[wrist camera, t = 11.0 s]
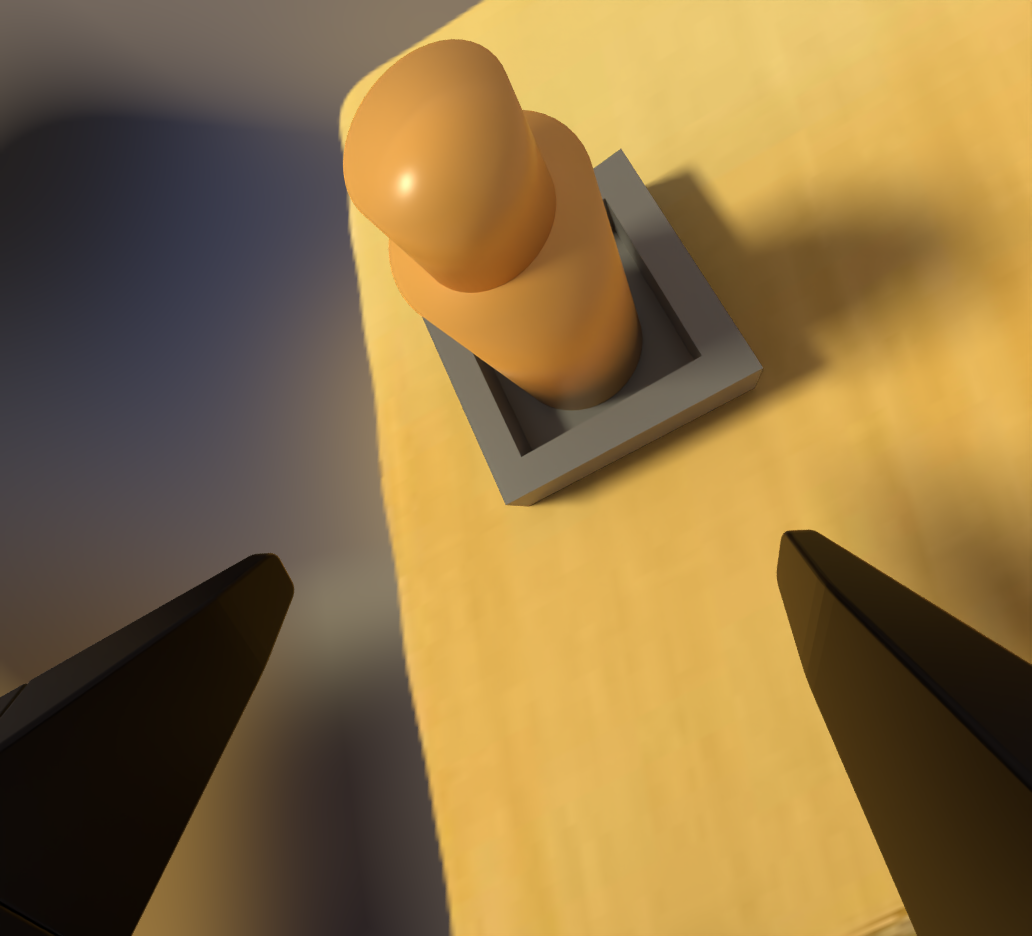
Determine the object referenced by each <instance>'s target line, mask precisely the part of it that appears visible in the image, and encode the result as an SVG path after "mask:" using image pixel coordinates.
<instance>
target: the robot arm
mask: <svg viewBox="0 0 1032 936" xmlns="http://www.w3.org/2000/svg"><path fill="white" fill-rule="evenodd" d="M777 582H778V586H779V590H780V593H781V596H782V600H783V603H784V606H785V610H786V613H787V616H788V620H789V623H790V626H791V630H792V633H793V636H794V640H795V643H796V646H797V650H798V653H799V656H800V660H801V663H802V666H803V669H804V672H805V675H806V678H807V681H808V683H809V686H810V688H811V691H812V693H813V696H814V698H815V700H816V703H817V705H818V707H819V709H820V712H821V714H822V716H823V719H824V721H825V723H826V726H827V728H828V730H829V733H830V735H831V737H832V740H833V742H834V744H835V747H836V749H837V751H838V754H839V756H840V758H841V760H842V763H843V765H844V767H845V770H846V772H847V774H848V777H849V779H850V781H851V784H852V786H853V788H854V791H855V793H856V795H857V798H858V800H859V802H860V804H861V807H862V809H863V811H864V814H865V816H866V818H867V821H868V823H869V825H870V828H871V830H872V832H873V835H874V837H875V839H876V842H877V844H878V846H879V849H880V851H881V853H882V855H883V858H884V860H885V862H886V865H887V867H888V869H889V872H890V874H891V876H892V879H893V881H894V883H895V886H896V888H897V890H898V893H899V895H900V897H901V899H902V902H903V904H904V906H905V909H906V911H907V913H908V916H909V918H910V920H911V923H912V925H913V927H914V930H915V932H916V934H917V936H1032V664H1030V663H1028V662H1027V661H1025V660H1024V659H1022V658H1020V657H1019V656H1017V655H1015V654H1014V653H1012V652H1011V651H1009V650H1007V649H1006V648H1004V647H1003V646H1001V645H999V644H998V643H996V642H994V641H993V640H991V639H990V638H988V637H986V636H985V635H983V634H982V633H980V632H978V631H977V630H975V629H973V628H972V627H970V626H969V625H967V624H965V623H964V622H962V621H961V620H959V619H957V618H956V617H954V616H952V615H951V614H949V613H948V612H946V611H944V610H943V609H941V608H940V607H938V606H936V605H935V604H933V603H931V602H930V601H928V600H927V599H925V598H923V597H922V596H920V595H919V594H917V593H915V592H914V591H912V590H910V589H909V588H907V587H906V586H904V585H902V584H901V583H899V582H897V581H896V580H894V579H893V578H891V577H889V576H888V575H886V574H885V573H883V572H881V571H880V570H878V569H876V568H875V567H873V566H872V565H870V564H868V563H867V562H865V561H864V560H862V559H860V558H859V557H857V556H855V555H854V554H852V553H851V552H849V551H847V550H846V549H844V548H843V547H841V546H839V545H838V544H836V543H834V542H833V541H831V540H830V539H828V538H826V537H825V536H823V535H822V534H820V533H818V532H816V531H814V530H791V531H786V532H785V533H783V535H782V537H781V543H780V550H779V557H778V565H777ZM293 595H294V585H293V582H292V580H291V578H290V577H289V575H288V573H287V571H286V569H285V567H284V566H283V564H282V562H281V560H280V558H279V557H278V556H277V555H275V554H273V553H262V554H261V553H260V554H254V555H251V556H249V557H247V558H245V559H243V560H242V561H240V562H238V563H236V564H235V565H233V566H231V567H229V568H228V569H226V570H224V571H222V572H220V573H219V574H217V575H215V576H213V577H212V578H210V579H208V580H206V581H205V582H203V583H201V584H199V585H198V586H196V587H194V588H193V589H191V590H189V591H187V592H186V593H184V594H182V595H180V596H178V597H176V598H175V599H173V600H171V601H169V602H168V603H166V604H164V605H162V606H161V607H159V608H157V609H155V610H153V611H152V612H150V613H148V614H146V615H145V616H143V617H141V618H140V619H138V620H136V621H134V622H132V623H131V624H129V625H127V626H125V627H124V628H122V629H120V630H118V631H116V632H115V633H113V634H111V635H109V636H108V637H106V638H104V639H102V640H101V641H99V642H97V643H95V644H94V645H92V646H90V647H88V648H87V649H85V650H83V651H81V652H79V653H78V654H76V655H74V656H72V657H71V658H69V659H67V660H65V661H64V662H62V663H60V664H58V665H57V666H55V667H53V668H51V669H50V670H48V671H46V672H44V673H43V674H41V675H39V676H37V677H36V678H34V679H32V680H31V681H30V682H29V683H28V684H23V685H21V686H19V687H18V688H16V689H14V690H12V691H11V692H9V693H7V694H5V695H4V696H2V697H0V936H132V935H133V933H134V931H135V929H136V926H137V925H138V922H139V920H140V919H141V917H142V915H143V913H144V911H145V909H146V906H147V905H148V903H149V901H150V899H151V897H152V894H153V893H154V890H155V888H156V886H157V885H158V882H159V880H160V878H161V876H162V874H163V872H164V870H165V868H166V866H167V864H168V862H169V860H170V858H171V856H172V854H173V852H174V850H175V848H176V846H177V844H178V842H179V840H180V838H181V836H182V834H183V832H184V830H185V828H186V826H187V824H188V822H189V820H190V818H191V816H192V814H193V812H194V810H195V808H196V806H197V804H198V802H199V800H200V798H201V796H202V794H203V792H204V790H205V788H206V786H207V784H208V782H209V780H210V778H211V776H212V774H213V772H214V770H215V768H216V766H217V764H218V762H219V760H220V758H221V756H222V754H223V752H224V750H225V748H226V746H227V744H228V742H229V740H230V738H231V736H232V734H233V732H234V730H235V728H236V726H237V724H238V722H239V720H240V718H241V716H242V714H243V712H244V710H245V708H246V706H247V704H248V702H249V700H250V698H251V696H252V694H253V692H254V690H255V688H256V686H257V684H258V682H259V680H260V678H261V676H262V673H263V671H264V669H265V666H266V664H267V662H268V660H269V657H270V655H271V652H272V649H273V647H274V644H275V642H276V639H277V637H278V634H279V632H280V629H281V627H282V624H283V621H284V619H285V616H286V614H287V611H288V609H289V606H290V604H291V601H292V598H293Z"/></svg>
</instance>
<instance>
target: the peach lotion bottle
mask: <svg viewBox="0 0 1032 936" xmlns="http://www.w3.org/2000/svg"><path fill="white" fill-rule="evenodd" d="M343 169H344V179H345V183H346V187H347V190H348V193H349V196H350V198H351V200H352V201H353V203H354V205H355V206H356V207H357V209H358V210H359V211H360V212H361V213H362V214H363V215H364V216H365V217H366V218H367V219H369V220H370V221H371V222H372V223H373V224H374V225H375V226H376V227H378V228H379V229H380V230H381V231H382V232H383V233H384V234H385V235H386V236H388V237H389V259H390V265H391V270H392V274H393V277H394V280H395V283H396V285H397V287H398V289H399V291H400V293H401V295H402V296H403V298H404V299H405V300H406V302H407V303H408V304H409V305H410V306H411V307H412V308H413V309H414V310H415V311H416V312H417V313H418V314H420V315H421V316H422V317H424V318H425V319H426V320H428V321H429V322H431V323H432V324H433V325H435V326H436V327H437V328H439V329H440V330H442V331H443V332H444V333H446V334H447V335H449V336H450V337H451V338H453V339H454V340H455V341H457V342H458V343H460V344H461V345H462V346H464V347H465V348H467V349H468V350H469V351H471V352H472V353H473V354H475V355H476V356H478V357H479V358H480V359H482V360H483V361H484V362H486V363H487V364H489V365H490V366H491V367H493V368H494V369H496V370H497V371H498V372H500V373H501V374H502V375H504V376H505V377H507V378H508V379H509V380H511V381H512V382H514V383H515V384H516V385H518V386H519V387H520V388H522V389H523V390H525V391H526V392H527V393H529V394H530V395H531V396H533V397H534V398H536V399H537V400H538V401H540V402H541V403H543V404H545V405H547V406H550V407H553V408H555V409H561V410H571V411H572V410H582V409H587V408H591V407H594V406H596V405H599V404H601V403H603V402H605V401H606V400H608V399H609V398H611V397H613V396H614V395H615V394H616V393H617V392H619V391H620V390H621V389H622V388H623V386H624V385H625V384H626V383H627V382H628V380H629V379H630V378H631V376H632V374H633V373H634V371H635V369H636V367H637V364H638V362H639V359H640V355H641V351H642V329H641V324H640V321H639V317H638V314H637V311H636V308H635V304H634V301H633V298H632V295H631V291H630V288H629V285H628V281H627V278H626V275H625V272H624V268H623V265H622V262H621V259H620V255H619V252H618V249H617V245H616V242H615V239H614V236H613V232H612V229H611V226H610V223H609V219H608V216H607V213H606V209H605V206H604V203H603V200H602V196H601V193H600V190H599V186H598V183H597V180H596V177H595V173H594V170H593V167H592V164H591V161H590V158H589V155H588V153H587V151H586V149H585V148H584V146H583V144H582V143H581V141H580V140H579V139H578V137H577V136H576V135H575V134H574V133H573V132H572V131H571V130H570V129H569V128H568V127H567V126H566V125H564V124H563V123H561V122H559V121H558V120H556V119H555V118H552V117H550V116H547V115H545V114H542V113H538V112H534V111H527V110H522V108H521V106H520V104H519V102H518V99H517V97H516V95H515V92H514V90H513V88H512V86H511V83H510V81H509V79H508V76H507V74H506V72H505V70H504V68H503V66H502V64H501V63H500V62H499V60H498V59H497V57H496V56H495V55H493V54H492V53H491V52H490V51H489V50H488V49H486V48H485V47H483V46H481V45H479V44H477V43H474V42H471V41H466V40H455V39H450V40H443V41H438V42H434V43H430V44H428V45H425V46H423V47H420V48H418V49H416V50H414V51H412V52H411V53H409V54H407V55H406V56H404V57H403V58H401V59H400V60H398V61H397V62H396V63H395V64H394V65H392V66H391V67H390V68H389V69H388V70H387V71H386V72H385V73H384V74H383V75H382V76H381V77H380V78H379V79H378V80H377V81H376V83H375V84H374V85H373V86H372V87H371V89H370V90H369V92H368V93H367V94H366V96H365V97H364V99H363V101H362V102H361V104H360V106H359V108H358V110H357V112H356V114H355V116H354V118H353V120H352V123H351V126H350V129H349V131H348V135H347V139H346V143H345V149H344V159H343Z"/></svg>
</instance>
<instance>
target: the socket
mask: <svg viewBox="0 0 1032 936" xmlns="http://www.w3.org/2000/svg"><path fill="white" fill-rule="evenodd" d="M593 170H594V173H595V177H596V180H597V183H598V186H599V190H600V193H601V196H602V200H603V203H604V206H605V209H606V213H607V216H608V219H609V223H610V226H611V229H612V232H613V236H614V239H615V242H616V245H617V249H618V252H619V255H620V259H621V262H622V265H623V268H624V272H625V275H626V278H627V281H628V285H629V288H630V291H631V295H632V298H633V301H634V304H635V308H636V311H637V314H638V317H639V321H640V324H641V329H642V351H641V355H640V359H639V362H638V364H637V367H636V369H635V371H634V373H633V374H632V376H631V378H630V379H629V380H628V382H627V383H626V384H625V385H624V386H623V388H622V389H621V390H620V391H619V392H617V393H616V394H615V395H614V396H613V397H611V398H609V399H608V400H606V401H605V402H603V403H601V404H599V405H596V406H594V407H591V408H587V409H582V410H572V411H571V410H561V409H555V408H553V407H550V406H547V405H545V404H543V403H541V402H540V401H538V400H537V399H536V398H534V397H533V396H531V395H530V394H529V393H527V392H526V391H525V390H523V389H522V388H520V387H519V386H518V385H516V384H515V383H514V382H512V381H511V380H509V379H508V378H507V377H505V376H504V375H502V374H501V373H500V372H498V371H497V370H496V369H494V368H493V367H491V366H490V365H489V364H487V363H486V362H484V361H483V360H482V359H480V358H479V357H478V356H476V355H475V354H473V353H472V352H471V351H469V350H468V349H467V348H465V347H464V346H462V345H461V344H460V343H458V342H457V341H455V340H454V339H453V338H451V337H450V336H449V335H447V334H446V333H444V332H443V331H442V330H440V329H439V328H437V327H436V326H435V325H433V324H432V323H431V322H429V321H428V320H426V319H425V318H424V317H422V318H423V320H424V322H425V324H426V327H427V329H428V331H429V333H430V336H431V338H432V340H433V342H434V344H435V347H436V349H437V351H438V353H439V356H440V358H441V360H442V362H443V365H444V367H445V369H446V371H447V374H448V376H449V378H450V380H451V383H452V385H453V387H454V389H455V392H456V394H457V396H458V398H459V401H460V403H461V405H462V407H463V410H464V412H465V414H466V416H467V419H468V421H469V423H470V425H471V428H472V430H473V432H474V434H475V437H476V439H477V441H478V443H479V446H480V448H481V450H482V452H483V455H484V457H485V459H486V461H487V464H488V466H489V468H490V470H491V473H492V475H493V477H494V479H495V482H496V484H497V486H498V488H499V491H500V493H501V495H502V497H503V500H504V502H505V504H506V505H514V506H530V505H532V504H534V503H536V502H538V501H540V500H542V499H543V498H545V497H547V496H549V495H551V494H553V493H555V492H557V491H559V490H561V489H563V488H564V487H566V486H568V485H570V484H572V483H574V482H576V481H578V480H580V479H582V478H584V477H585V476H587V475H589V474H591V473H593V472H595V471H597V470H599V469H601V468H603V467H605V466H606V465H608V464H610V463H612V462H614V461H616V460H618V459H620V458H622V457H624V456H626V455H627V454H629V453H631V452H633V451H635V450H637V449H639V448H641V447H643V446H645V445H647V444H648V443H650V442H652V441H654V440H656V439H658V438H660V437H662V436H664V435H666V434H668V433H669V432H671V431H673V430H675V429H677V428H679V427H681V426H683V425H685V424H687V423H689V422H691V421H692V420H694V419H696V418H698V417H700V416H702V415H704V414H706V413H708V412H710V411H712V410H713V409H715V408H717V407H719V406H721V405H723V404H725V403H727V402H729V401H731V400H733V399H734V398H736V397H738V396H740V395H742V394H744V393H746V392H748V391H750V390H752V389H754V388H755V386H756V384H757V381H758V379H759V377H760V374H761V372H762V370H763V367H762V365H761V364H760V362H759V361H758V359H757V357H756V356H755V354H754V353H753V351H752V350H751V348H750V347H749V345H748V344H747V342H746V341H745V339H744V337H743V336H742V334H741V333H740V331H739V330H738V328H737V327H736V325H735V324H734V322H733V320H732V319H731V317H730V316H729V314H728V313H727V311H726V310H725V308H724V307H723V305H722V304H721V302H720V300H719V299H718V297H717V296H716V294H715V293H714V291H713V290H712V288H711V287H710V285H709V284H708V282H707V280H706V279H705V277H704V276H703V274H702V273H701V271H700V270H699V268H698V267H697V265H696V263H695V262H694V260H693V259H692V257H691V256H690V254H689V253H688V251H687V250H686V248H685V247H684V245H683V243H682V242H681V240H680V239H679V237H678V236H677V234H676V233H675V231H674V230H673V228H672V226H671V225H670V223H669V222H668V220H667V219H666V217H665V216H664V214H663V213H662V211H661V210H660V208H659V206H658V205H657V203H656V202H655V200H654V199H653V197H652V196H651V194H650V193H649V191H648V190H647V188H646V186H645V185H644V183H643V182H642V180H641V179H640V177H639V176H638V174H637V173H636V171H635V169H634V168H633V166H632V165H631V163H630V162H629V160H628V159H627V157H626V156H625V154H624V153H623V151H622V149H620V150H618V151H617V152H616V153H614V154H613V155H612V156H610V157H609V158H607V159H606V160H605V161H603V162H602V163H601V164H599V165H598V166H596V167H595V168H594V169H593Z"/></svg>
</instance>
